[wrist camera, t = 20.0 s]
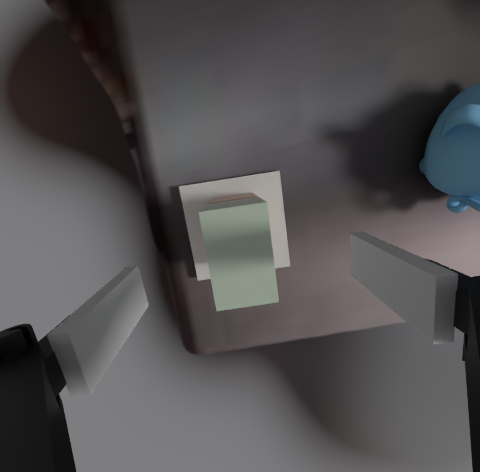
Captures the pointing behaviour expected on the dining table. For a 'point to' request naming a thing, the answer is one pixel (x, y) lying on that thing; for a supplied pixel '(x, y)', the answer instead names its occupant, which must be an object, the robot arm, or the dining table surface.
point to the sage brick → (239, 253)
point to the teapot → (456, 151)
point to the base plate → (258, 184)
